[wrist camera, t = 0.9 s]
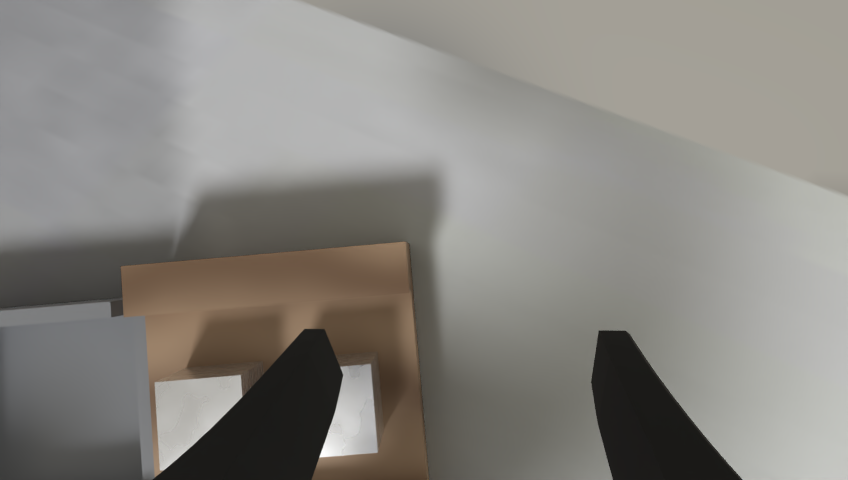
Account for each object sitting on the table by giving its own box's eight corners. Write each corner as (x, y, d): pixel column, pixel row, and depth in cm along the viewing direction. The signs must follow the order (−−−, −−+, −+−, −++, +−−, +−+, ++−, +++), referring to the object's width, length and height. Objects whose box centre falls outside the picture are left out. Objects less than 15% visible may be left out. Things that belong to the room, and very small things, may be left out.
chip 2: (383, 429, 21) (377, 452, 19) (306, 435, 21) (290, 459, 19) (377, 351, 21) (370, 364, 19) (300, 357, 21) (283, 371, 19)
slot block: (431, 505, 24) (431, 557, 20) (188, 525, 24) (138, 580, 20) (409, 243, 24) (405, 241, 20) (171, 264, 24) (120, 266, 20)
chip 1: (268, 438, 21) (246, 463, 19) (191, 445, 21) (159, 470, 19) (262, 360, 21) (240, 374, 19) (186, 367, 22) (154, 382, 19)
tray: (182, 495, 24) (140, 537, 20) (-17, 512, 24) (-94, 555, 20) (169, 293, 24) (126, 300, 21) (-26, 310, 24) (-103, 319, 21)
